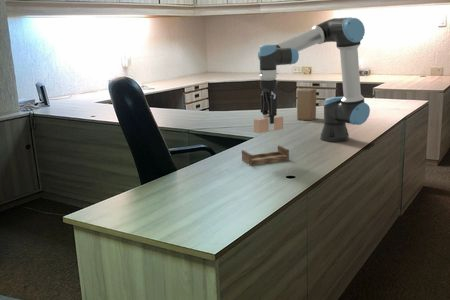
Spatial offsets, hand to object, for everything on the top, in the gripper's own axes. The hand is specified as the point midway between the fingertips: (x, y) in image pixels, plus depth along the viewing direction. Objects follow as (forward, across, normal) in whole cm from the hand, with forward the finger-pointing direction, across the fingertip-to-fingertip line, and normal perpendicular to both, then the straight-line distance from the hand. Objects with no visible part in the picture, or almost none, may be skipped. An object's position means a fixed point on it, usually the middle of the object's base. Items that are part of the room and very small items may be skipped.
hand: (268, 129), depth 228 cm
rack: (+15, -1, -1) cm, 15 cm away
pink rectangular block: (+1, 0, 0) cm, 1 cm away
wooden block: (+15, -80, +67) cm, 105 cm away
